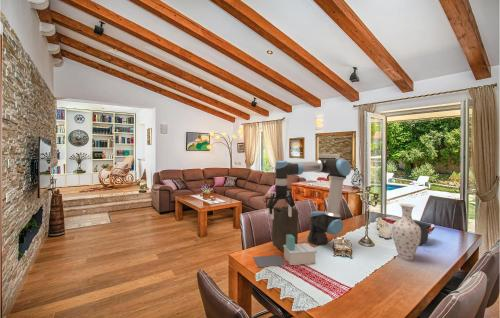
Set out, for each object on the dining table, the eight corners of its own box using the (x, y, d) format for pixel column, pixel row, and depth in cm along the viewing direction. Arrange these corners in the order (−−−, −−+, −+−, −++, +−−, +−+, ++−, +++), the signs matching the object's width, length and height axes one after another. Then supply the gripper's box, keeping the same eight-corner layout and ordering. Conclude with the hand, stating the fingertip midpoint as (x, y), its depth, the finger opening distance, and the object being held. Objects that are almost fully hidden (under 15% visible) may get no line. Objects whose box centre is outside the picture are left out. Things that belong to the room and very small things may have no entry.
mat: (279, 255, 161) (279, 254, 161) (286, 265, 147) (286, 264, 147) (253, 257, 157) (253, 257, 157) (258, 267, 144) (258, 267, 144)
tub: (306, 255, 162) (306, 244, 161) (315, 263, 150) (315, 252, 150) (283, 257, 159) (284, 246, 158) (290, 265, 147) (290, 254, 147)
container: (298, 253, 165) (299, 209, 164) (286, 255, 161) (286, 211, 160) (282, 241, 186) (282, 202, 185) (270, 243, 182) (271, 203, 181)
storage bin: (413, 236, 199) (413, 219, 198) (435, 242, 186) (436, 224, 185) (400, 242, 187) (401, 223, 186) (423, 248, 174) (424, 229, 174)
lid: (307, 244, 162) (307, 231, 162) (316, 252, 149) (316, 238, 149) (283, 246, 159) (283, 232, 158) (290, 254, 146) (290, 240, 146)
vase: (395, 250, 171) (396, 201, 170) (422, 257, 159) (424, 205, 158) (388, 257, 160) (389, 204, 158) (417, 265, 148) (419, 209, 147)
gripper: (293, 183, 164) (293, 214, 164) (261, 185, 153) (261, 218, 154) (300, 184, 157) (300, 216, 158) (267, 186, 146) (267, 221, 147)
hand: (281, 217), depth 156 cm, fingers open, 13 cm apart
